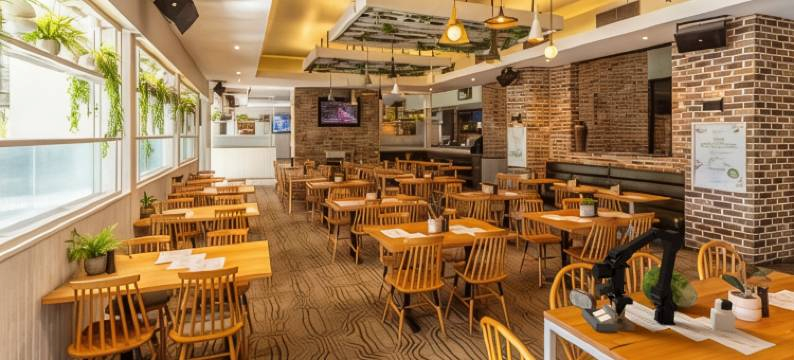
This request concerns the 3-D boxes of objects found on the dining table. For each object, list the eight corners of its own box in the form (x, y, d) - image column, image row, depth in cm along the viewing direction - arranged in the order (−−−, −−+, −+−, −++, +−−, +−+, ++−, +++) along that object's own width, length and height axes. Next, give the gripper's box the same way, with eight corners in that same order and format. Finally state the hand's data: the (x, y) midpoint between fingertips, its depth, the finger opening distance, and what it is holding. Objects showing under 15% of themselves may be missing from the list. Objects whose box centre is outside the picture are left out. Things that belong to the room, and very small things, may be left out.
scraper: (616, 311, 212) (617, 296, 211) (629, 323, 199) (630, 306, 198) (602, 311, 212) (603, 295, 212) (614, 322, 199) (615, 305, 199)
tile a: (604, 314, 211) (602, 308, 211) (608, 317, 207) (606, 312, 206) (594, 318, 211) (592, 312, 211) (598, 321, 207) (596, 316, 207)
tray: (600, 316, 215) (600, 308, 215) (616, 332, 197) (616, 323, 197) (581, 315, 215) (582, 308, 215) (596, 331, 197) (596, 323, 197)
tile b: (609, 319, 205) (607, 313, 205) (613, 323, 201) (611, 317, 200) (599, 323, 205) (597, 317, 205) (603, 327, 201) (601, 321, 201)
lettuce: (682, 318, 214) (695, 280, 213) (630, 296, 232) (642, 260, 230) (697, 317, 226) (709, 280, 225) (646, 296, 244) (658, 262, 242)
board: (621, 318, 213) (621, 313, 212) (635, 331, 199) (635, 325, 198) (602, 317, 213) (602, 312, 213) (615, 330, 199) (615, 324, 199)
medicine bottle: (729, 326, 205) (731, 298, 204) (734, 332, 198) (736, 303, 197) (709, 324, 207) (711, 296, 206) (714, 330, 201) (716, 301, 200)
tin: (596, 313, 219) (597, 295, 218) (591, 314, 218) (592, 295, 217) (572, 302, 233) (573, 285, 232) (567, 303, 231) (568, 286, 231)
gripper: (590, 271, 214) (588, 306, 215) (606, 284, 195) (604, 321, 197) (615, 272, 213) (614, 306, 215) (634, 284, 195) (632, 322, 196)
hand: (615, 314), depth 206 cm, fingers closed on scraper, 4 cm apart
